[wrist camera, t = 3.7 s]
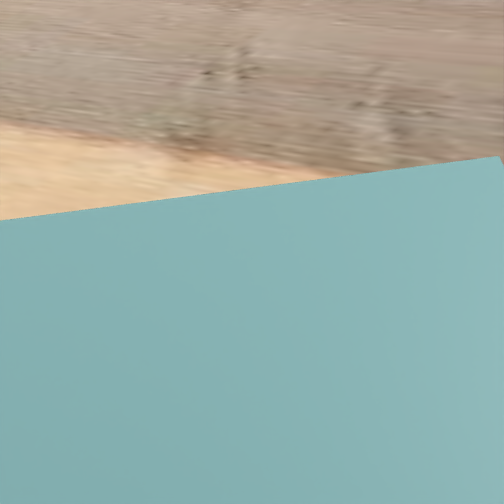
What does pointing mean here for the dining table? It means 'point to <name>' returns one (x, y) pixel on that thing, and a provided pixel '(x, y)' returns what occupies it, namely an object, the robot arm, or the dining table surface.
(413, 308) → the teal rectangular block
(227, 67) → the dining table surface
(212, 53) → the dining table surface
